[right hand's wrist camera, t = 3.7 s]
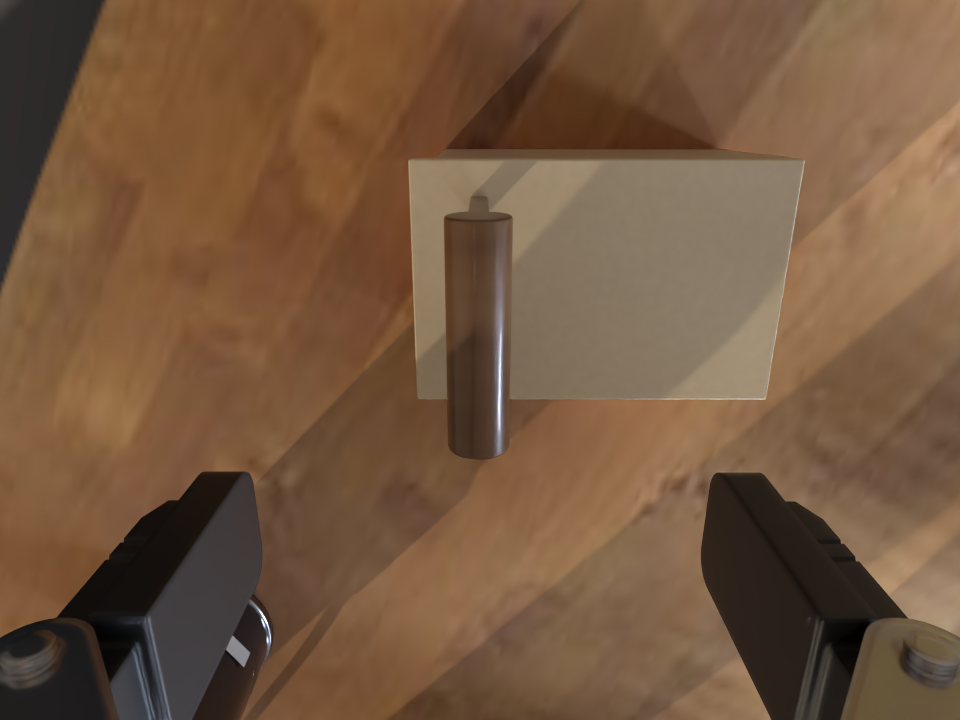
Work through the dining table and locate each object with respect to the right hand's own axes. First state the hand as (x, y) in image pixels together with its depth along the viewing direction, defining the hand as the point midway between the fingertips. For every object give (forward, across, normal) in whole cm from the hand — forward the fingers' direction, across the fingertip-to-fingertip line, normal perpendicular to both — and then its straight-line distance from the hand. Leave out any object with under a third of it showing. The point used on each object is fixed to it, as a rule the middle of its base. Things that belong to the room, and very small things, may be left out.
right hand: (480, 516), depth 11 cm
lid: (+18, -5, 0) cm, 19 cm away
